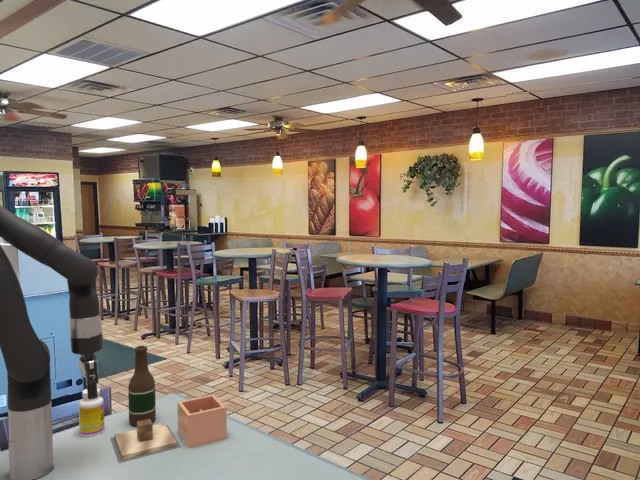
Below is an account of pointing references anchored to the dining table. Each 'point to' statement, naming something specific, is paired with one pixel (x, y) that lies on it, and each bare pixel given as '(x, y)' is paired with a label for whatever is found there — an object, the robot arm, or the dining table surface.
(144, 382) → the beer bottle
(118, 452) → the mat
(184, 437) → the terracotta square planter
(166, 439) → the lid
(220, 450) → the dining table surface
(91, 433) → the supplement bottle
